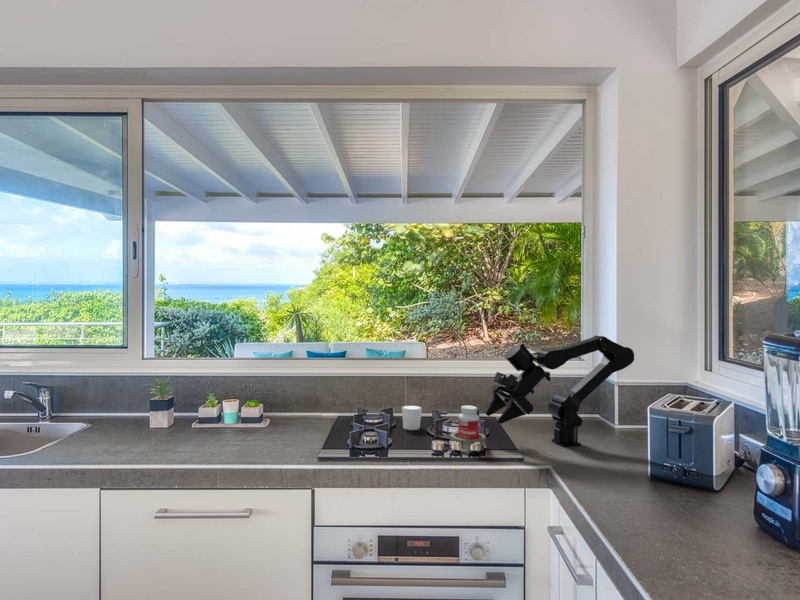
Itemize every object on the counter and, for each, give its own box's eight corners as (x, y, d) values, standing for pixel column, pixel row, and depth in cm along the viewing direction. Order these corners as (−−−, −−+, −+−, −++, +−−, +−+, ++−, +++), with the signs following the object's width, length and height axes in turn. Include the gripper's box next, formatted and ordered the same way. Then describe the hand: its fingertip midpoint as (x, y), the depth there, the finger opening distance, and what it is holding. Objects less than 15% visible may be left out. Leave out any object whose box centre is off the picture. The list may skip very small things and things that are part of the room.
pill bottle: (456, 445, 146) (457, 408, 146) (459, 440, 152) (460, 404, 152) (477, 448, 144) (478, 410, 144) (479, 442, 150) (480, 405, 150)
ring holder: (474, 440, 155) (475, 429, 155) (493, 451, 145) (493, 439, 145) (442, 443, 151) (443, 432, 151) (459, 454, 141) (460, 442, 141)
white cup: (419, 431, 165) (420, 410, 165) (399, 429, 166) (399, 408, 166) (422, 425, 171) (423, 405, 171) (403, 424, 173) (403, 404, 173)
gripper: (497, 359, 160) (464, 394, 157) (523, 367, 141) (486, 407, 139) (520, 382, 161) (487, 417, 159) (548, 394, 143) (512, 434, 141)
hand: (492, 418), depth 150 cm, fingers open, 9 cm apart
